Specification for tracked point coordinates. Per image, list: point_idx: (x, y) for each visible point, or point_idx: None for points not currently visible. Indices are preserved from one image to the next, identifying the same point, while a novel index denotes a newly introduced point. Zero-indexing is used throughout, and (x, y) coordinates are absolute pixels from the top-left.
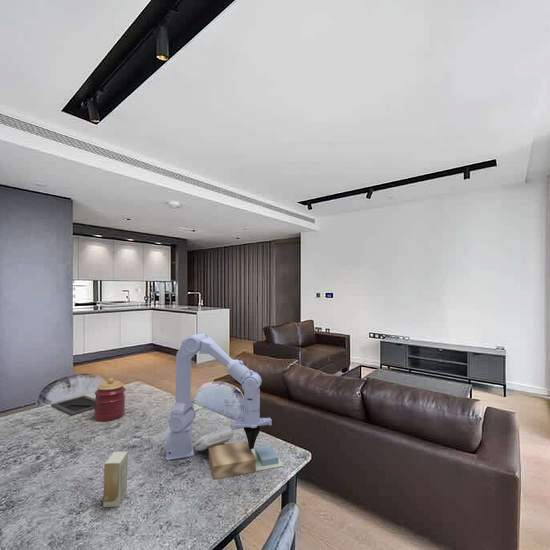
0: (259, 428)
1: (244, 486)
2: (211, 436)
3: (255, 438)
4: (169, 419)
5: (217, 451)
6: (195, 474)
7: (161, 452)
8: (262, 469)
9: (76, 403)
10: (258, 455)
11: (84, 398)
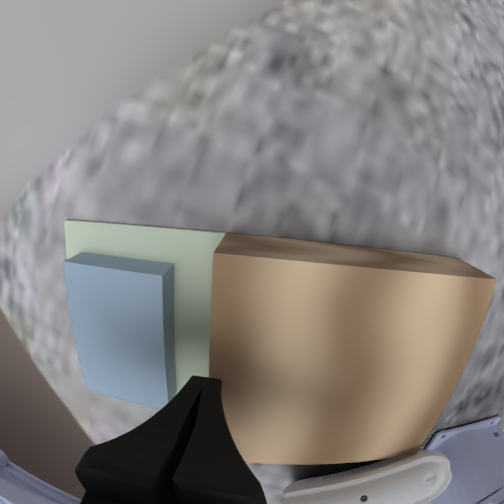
0: (81, 479)
1: (342, 120)
2: (417, 492)
3: (156, 421)
4: None
5: (409, 417)
6: (489, 321)
7: None
8: (180, 230)
9: None
10: (167, 347)
11: None
